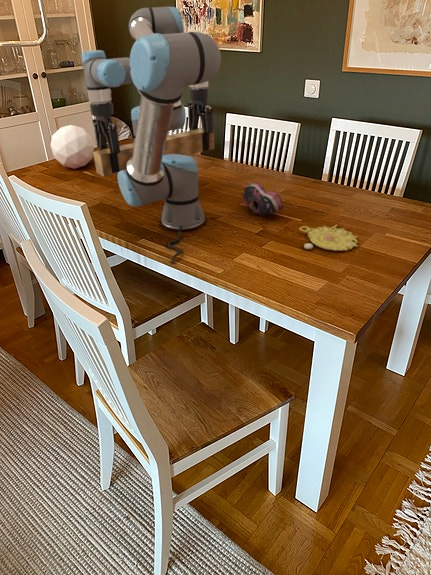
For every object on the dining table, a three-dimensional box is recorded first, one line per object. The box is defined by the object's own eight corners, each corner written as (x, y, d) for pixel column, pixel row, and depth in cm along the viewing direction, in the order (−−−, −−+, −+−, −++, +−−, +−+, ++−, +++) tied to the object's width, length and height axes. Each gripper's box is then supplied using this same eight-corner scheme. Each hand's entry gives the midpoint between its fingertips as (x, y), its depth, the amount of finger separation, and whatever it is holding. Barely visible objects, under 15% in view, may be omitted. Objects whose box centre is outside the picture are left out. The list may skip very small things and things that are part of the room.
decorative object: (343, 255, 128) (285, 234, 139) (342, 262, 130) (284, 241, 140) (372, 230, 142) (317, 213, 152) (371, 237, 143) (316, 219, 153)
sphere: (81, 183, 214) (66, 157, 195) (51, 163, 218) (34, 136, 200) (107, 156, 219) (95, 128, 200) (77, 137, 223) (63, 108, 205)
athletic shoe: (254, 181, 170) (227, 189, 167) (283, 176, 151) (253, 185, 147) (260, 210, 173) (234, 218, 170) (290, 209, 154) (261, 219, 150)
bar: (103, 176, 157) (100, 155, 153) (96, 173, 161) (92, 151, 157) (214, 148, 184) (214, 129, 180) (206, 146, 188) (205, 127, 183)
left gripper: (221, 89, 166) (222, 151, 179) (192, 83, 178) (195, 142, 191) (206, 92, 162) (208, 155, 175) (177, 86, 175) (180, 145, 187)
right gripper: (124, 104, 145) (133, 173, 157) (98, 98, 157) (109, 163, 169) (103, 107, 141) (114, 178, 153) (78, 100, 153) (91, 167, 165)
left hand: (201, 148), depth 183 cm, fingers closed on bar, 6 cm apart
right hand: (111, 170), depth 161 cm, fingers closed on bar, 6 cm apart
